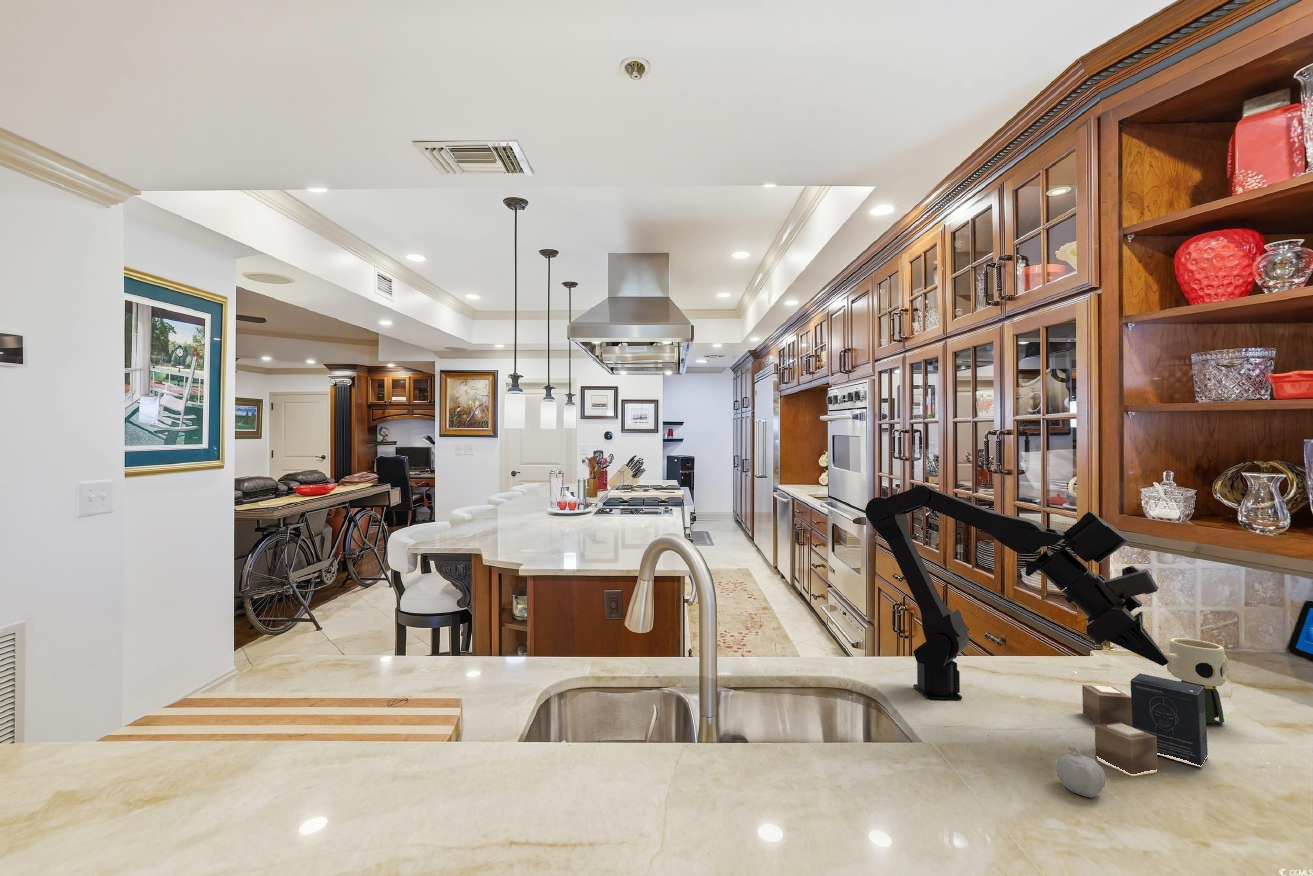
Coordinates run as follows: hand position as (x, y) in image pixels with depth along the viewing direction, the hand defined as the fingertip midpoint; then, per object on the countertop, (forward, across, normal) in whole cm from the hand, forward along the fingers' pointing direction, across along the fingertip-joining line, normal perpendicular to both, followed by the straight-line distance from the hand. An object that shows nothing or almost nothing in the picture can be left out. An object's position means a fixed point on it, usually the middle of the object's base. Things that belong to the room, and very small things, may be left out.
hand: (1166, 664), depth 89 cm
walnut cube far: (+4, +9, +15) cm, 18 cm away
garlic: (+4, -23, +15) cm, 28 cm away
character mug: (+12, +21, +7) cm, 25 cm away
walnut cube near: (+6, -10, +13) cm, 17 cm away
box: (+10, 0, +10) cm, 14 cm away
